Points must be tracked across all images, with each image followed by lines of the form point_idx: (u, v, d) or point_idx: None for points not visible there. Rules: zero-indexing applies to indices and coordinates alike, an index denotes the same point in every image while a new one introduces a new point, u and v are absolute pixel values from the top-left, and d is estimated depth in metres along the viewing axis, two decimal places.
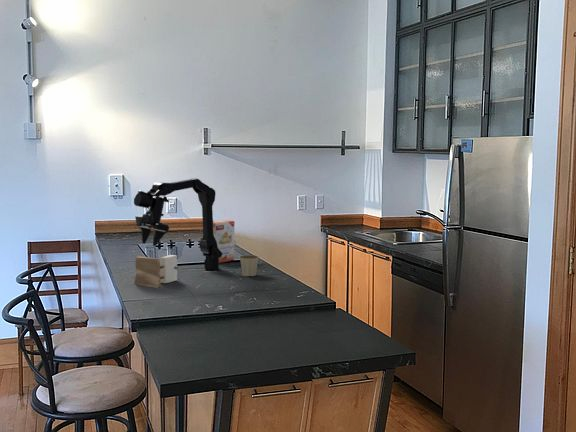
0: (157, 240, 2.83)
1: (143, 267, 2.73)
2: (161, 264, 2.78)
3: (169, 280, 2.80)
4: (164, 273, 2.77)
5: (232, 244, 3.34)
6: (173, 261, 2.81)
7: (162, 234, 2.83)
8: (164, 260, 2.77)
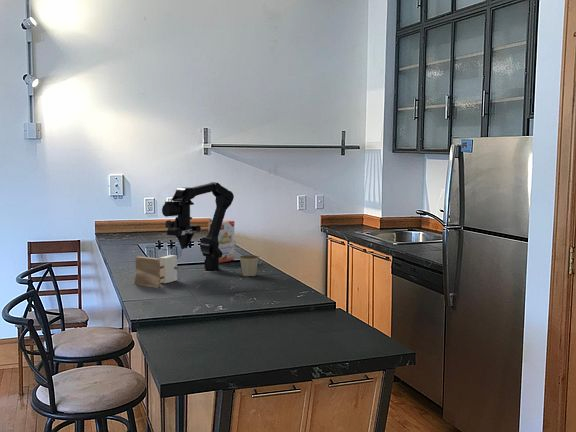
0: (182, 243, 2.95)
1: (143, 267, 2.73)
2: (161, 264, 2.78)
3: (169, 280, 2.80)
4: (164, 273, 2.77)
5: (232, 244, 3.34)
6: (173, 261, 2.81)
7: (183, 237, 2.93)
8: (164, 260, 2.77)
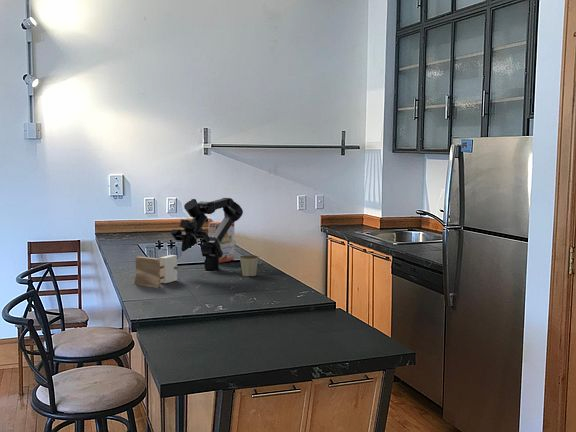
0: (187, 247, 2.90)
1: (143, 267, 2.73)
2: (161, 264, 2.78)
3: (169, 280, 2.80)
4: (164, 273, 2.77)
5: (232, 244, 3.34)
6: (173, 261, 2.81)
7: (193, 243, 2.93)
8: (164, 260, 2.77)
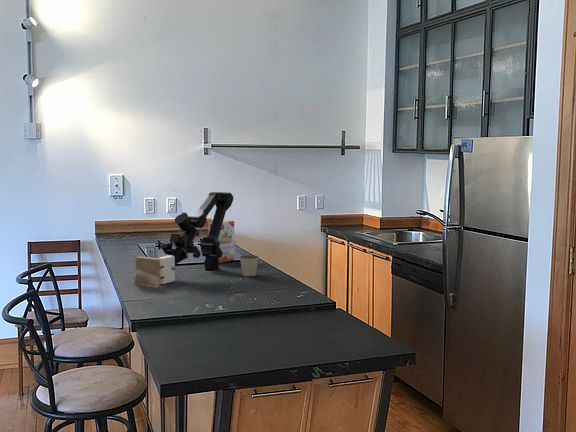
0: (177, 261, 2.84)
1: (143, 267, 2.73)
2: None
3: (167, 281, 2.78)
4: (162, 274, 2.76)
5: (232, 244, 3.34)
6: (171, 262, 2.80)
7: (183, 258, 2.87)
8: (161, 260, 2.75)
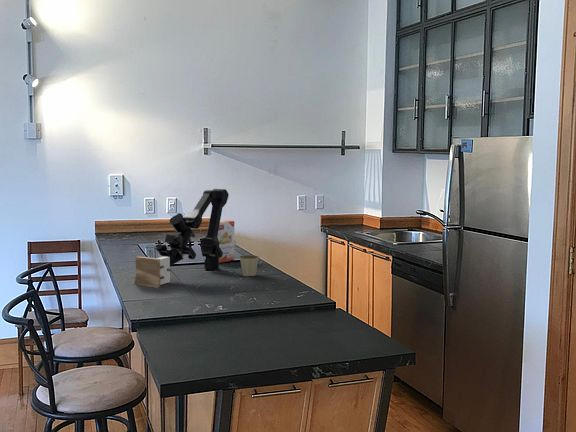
0: (172, 263, 2.81)
1: (143, 267, 2.73)
2: None
3: (162, 282, 2.75)
4: None
5: (232, 244, 3.34)
6: (166, 263, 2.77)
7: (178, 259, 2.84)
8: None
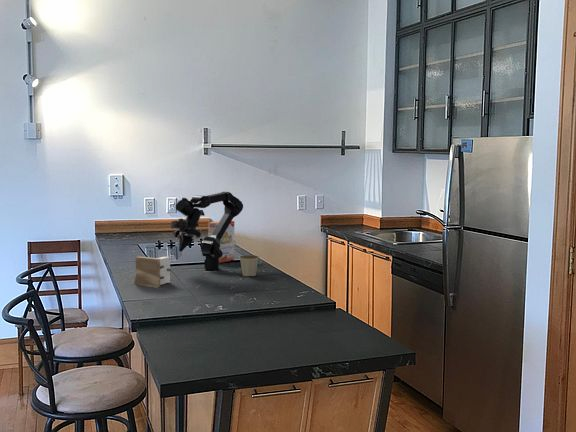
0: (184, 246, 2.93)
1: (143, 267, 2.73)
2: None
3: (162, 282, 2.75)
4: None
5: (232, 244, 3.34)
6: (166, 263, 2.77)
7: (189, 241, 2.93)
8: None
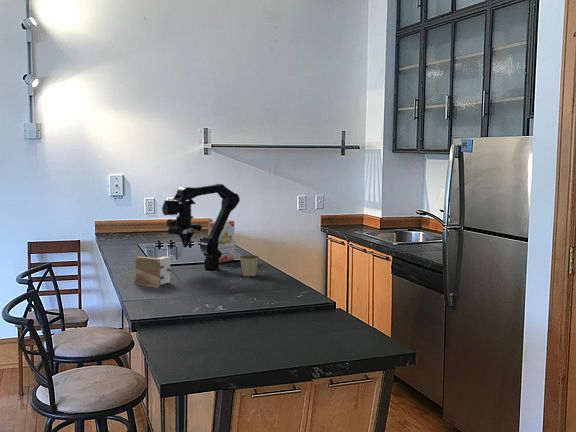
0: (184, 242, 3.00)
1: (143, 267, 2.73)
2: None
3: (162, 282, 2.75)
4: None
5: (232, 244, 3.34)
6: (166, 263, 2.77)
7: (185, 236, 2.98)
8: None
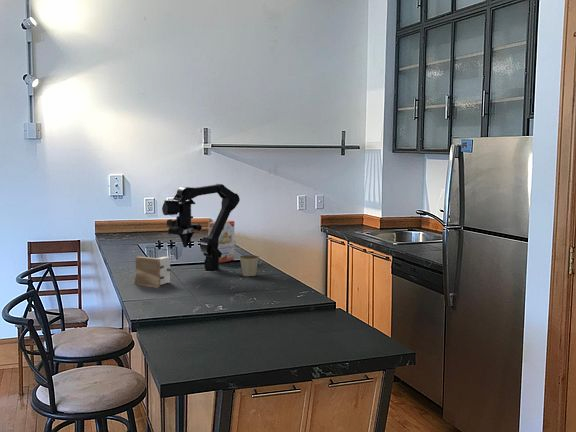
0: (184, 242, 3.00)
1: (143, 267, 2.73)
2: None
3: (162, 282, 2.75)
4: None
5: (232, 244, 3.34)
6: (166, 263, 2.77)
7: (185, 236, 2.98)
8: None
